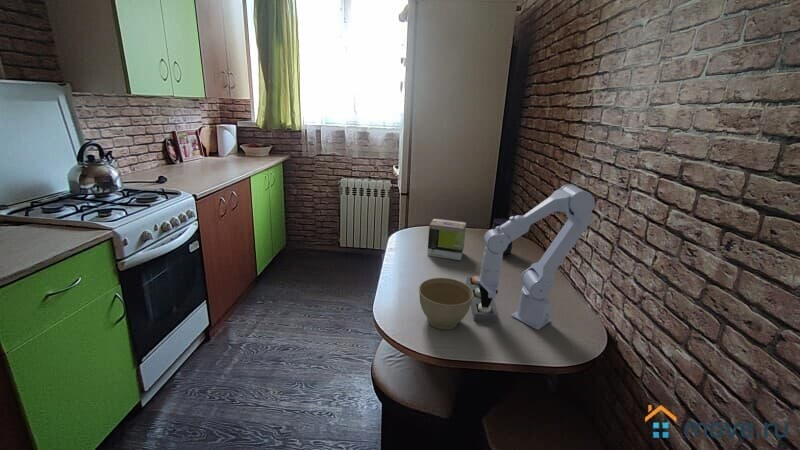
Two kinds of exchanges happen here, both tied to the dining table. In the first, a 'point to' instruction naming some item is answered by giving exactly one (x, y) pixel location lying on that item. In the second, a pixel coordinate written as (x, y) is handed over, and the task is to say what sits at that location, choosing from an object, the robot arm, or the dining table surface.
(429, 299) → the planter bowl
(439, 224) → the tea box
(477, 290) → the sage button
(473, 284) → the orange button
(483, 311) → the cream button
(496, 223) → the storage jar
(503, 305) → the dining table surface
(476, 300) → the button panel
